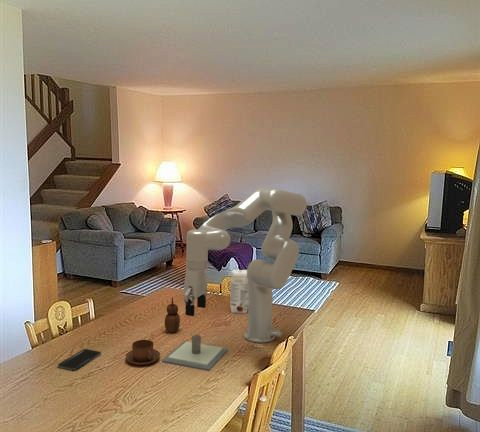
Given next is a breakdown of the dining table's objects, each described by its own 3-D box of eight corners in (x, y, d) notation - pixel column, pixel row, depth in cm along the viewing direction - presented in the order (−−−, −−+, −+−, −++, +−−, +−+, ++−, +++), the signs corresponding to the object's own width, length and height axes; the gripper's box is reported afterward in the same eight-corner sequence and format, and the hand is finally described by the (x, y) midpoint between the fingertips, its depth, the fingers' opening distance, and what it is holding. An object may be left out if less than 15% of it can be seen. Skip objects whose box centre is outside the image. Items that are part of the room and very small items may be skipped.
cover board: (222, 349, 182) (223, 332, 181) (206, 366, 168) (207, 347, 167) (186, 343, 187) (186, 326, 186) (167, 359, 173) (167, 340, 172)
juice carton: (248, 313, 223) (249, 273, 220) (229, 313, 223) (230, 273, 220) (248, 308, 230) (249, 269, 227) (230, 308, 230) (231, 268, 227)
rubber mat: (228, 350, 183) (228, 348, 183) (209, 370, 166) (209, 369, 166) (184, 342, 189) (184, 341, 189) (162, 361, 172) (162, 360, 172)
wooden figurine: (176, 334, 196) (176, 298, 194) (162, 333, 198) (162, 297, 195) (181, 328, 203) (181, 293, 201) (168, 327, 204) (168, 292, 202)
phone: (56, 365, 166) (84, 348, 180) (56, 368, 166) (84, 351, 180) (75, 369, 163) (102, 352, 177) (75, 372, 163) (102, 355, 177)
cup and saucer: (167, 358, 175) (167, 342, 174) (143, 371, 165) (143, 353, 164) (142, 350, 181) (142, 334, 181) (118, 362, 171) (118, 345, 170)
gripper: (197, 258, 182) (196, 303, 184) (176, 268, 165) (175, 317, 168) (215, 260, 179) (214, 305, 181) (196, 271, 163) (195, 320, 165)
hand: (195, 311), depth 175 cm, fingers open, 9 cm apart
